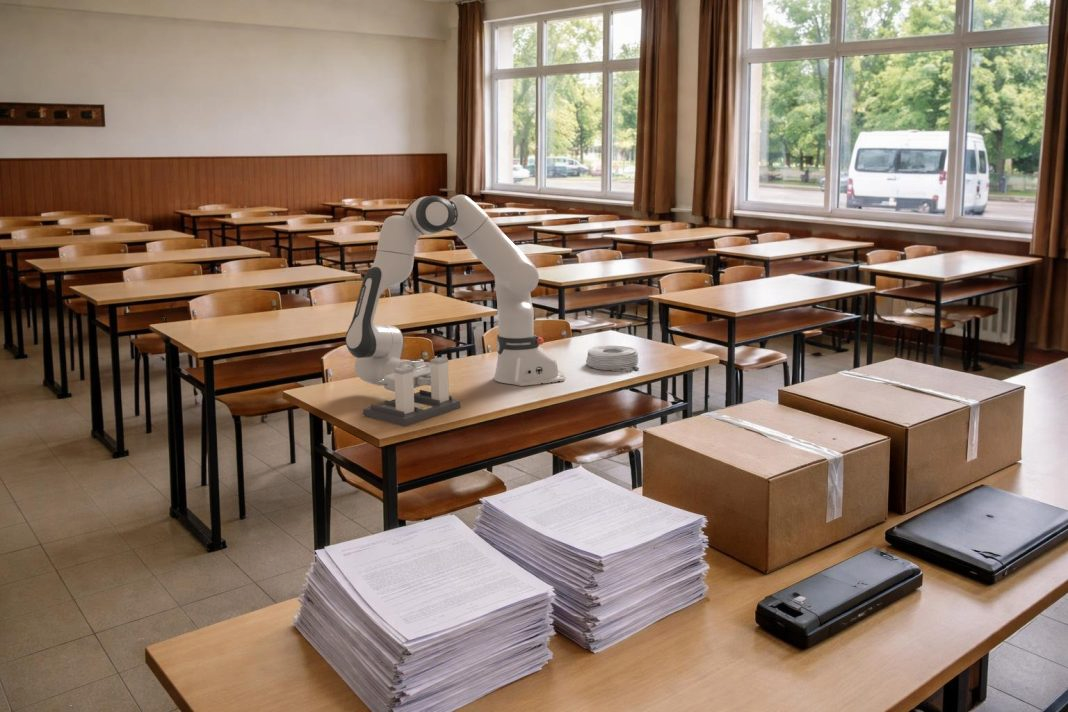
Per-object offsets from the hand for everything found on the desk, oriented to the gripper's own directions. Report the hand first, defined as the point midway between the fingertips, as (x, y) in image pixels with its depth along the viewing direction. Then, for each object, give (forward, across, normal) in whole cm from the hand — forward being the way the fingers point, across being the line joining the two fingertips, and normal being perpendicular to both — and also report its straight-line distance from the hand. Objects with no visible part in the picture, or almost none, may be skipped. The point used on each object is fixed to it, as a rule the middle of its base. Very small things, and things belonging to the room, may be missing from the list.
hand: (435, 382), depth 262 cm
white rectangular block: (+1, -14, +5) cm, 15 cm away
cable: (+13, +72, +8) cm, 74 cm away
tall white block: (+2, 0, +5) cm, 5 cm away
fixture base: (-2, -7, +7) cm, 11 cm away
